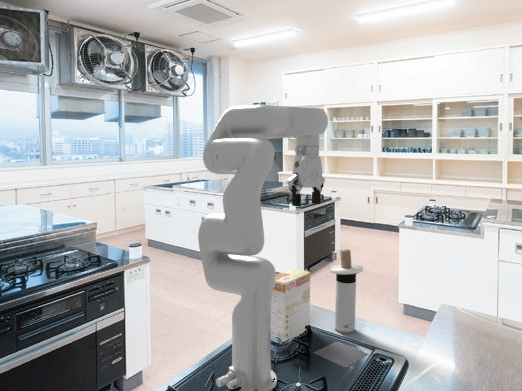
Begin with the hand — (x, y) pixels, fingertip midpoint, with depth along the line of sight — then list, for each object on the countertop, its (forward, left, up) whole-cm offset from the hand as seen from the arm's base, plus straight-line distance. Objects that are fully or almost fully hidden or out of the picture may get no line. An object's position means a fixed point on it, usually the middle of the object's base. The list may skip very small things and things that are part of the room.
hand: (306, 205), depth 130 cm
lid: (+6, -12, -20) cm, 24 cm away
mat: (-8, -20, -40) cm, 46 cm away
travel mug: (+6, -12, -40) cm, 43 cm away
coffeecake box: (-10, -2, -41) cm, 42 cm away
